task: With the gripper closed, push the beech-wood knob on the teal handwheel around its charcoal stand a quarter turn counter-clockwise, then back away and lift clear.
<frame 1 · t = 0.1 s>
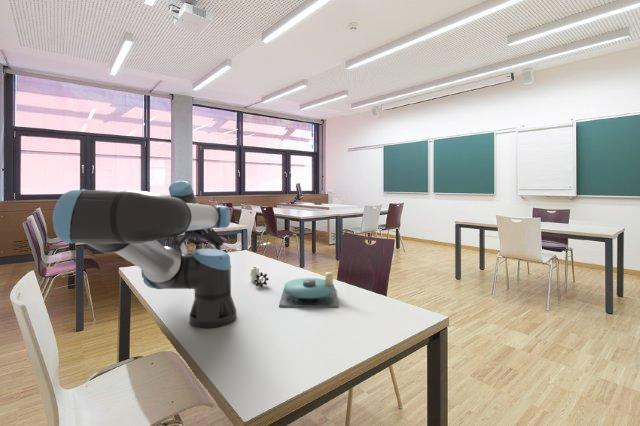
hand: (202, 255, 140), 15 cm above the table, tool tilted 35°, fingers open, 13 cm apart
handwheel: (309, 281, 135), point 6 cm above the table, hinge at 0.0°
wheel stand: (309, 297, 135), on the table
valve: (257, 284, 153), on the table
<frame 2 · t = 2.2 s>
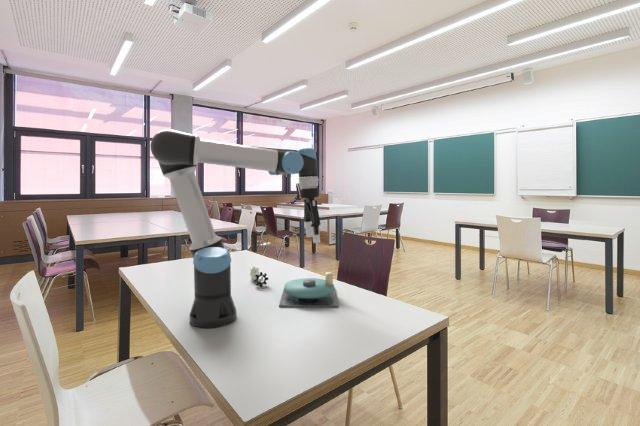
hand: (313, 239, 136), 23 cm above the table, tool pointing down, fingers open, 13 cm apart
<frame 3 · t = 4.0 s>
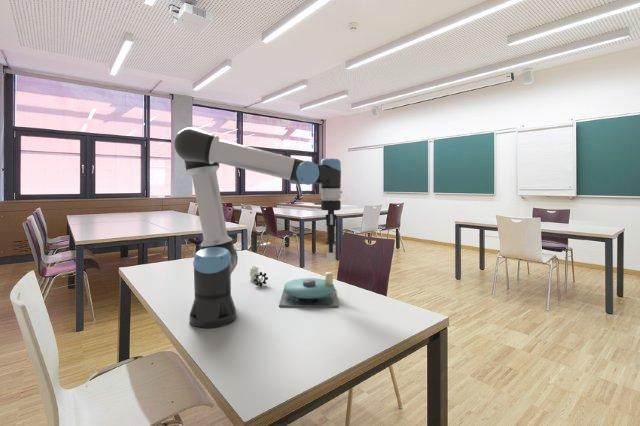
hand: (330, 260, 129), 16 cm above the table, tool pointing down, fingers closed
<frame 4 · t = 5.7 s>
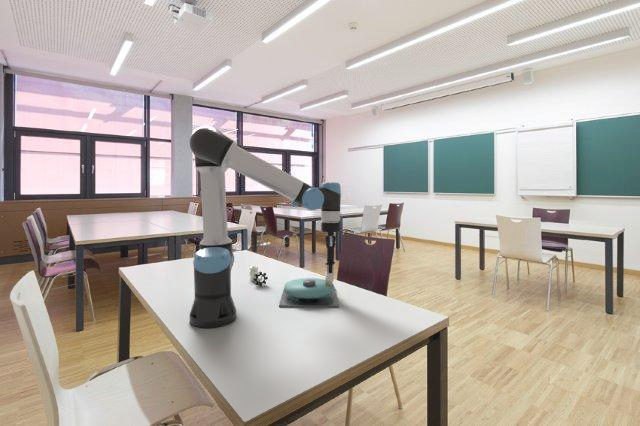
hand: (330, 280, 133), 8 cm above the table, tool pointing down, fingers closed
handwheel: (309, 281, 135), point 6 cm above the table, hinge at 3.4°, touching gripper
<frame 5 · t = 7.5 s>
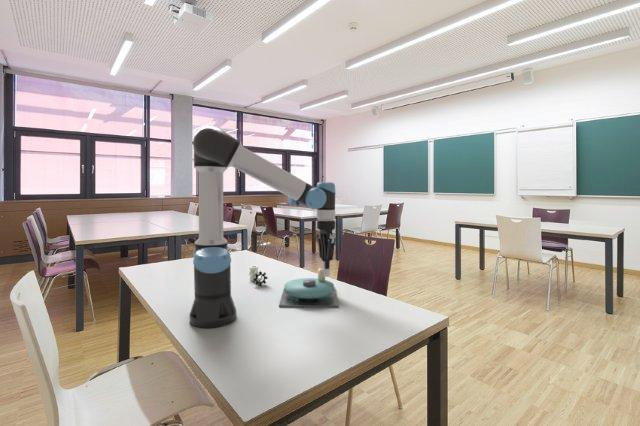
hand: (325, 276, 139), 8 cm above the table, tool pointing down, fingers closed
handwheel: (309, 281, 135), point 6 cm above the table, hinge at 50.4°, touching gripper
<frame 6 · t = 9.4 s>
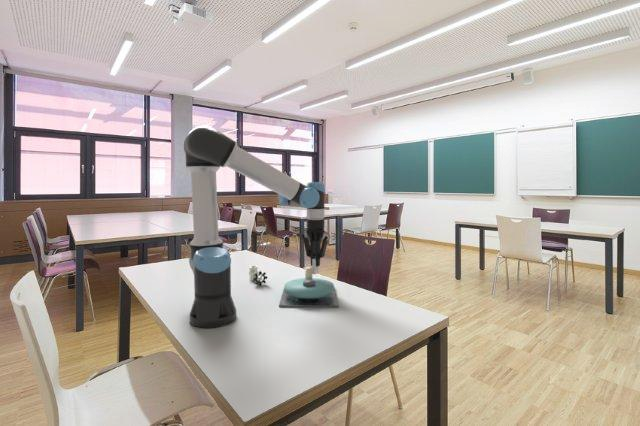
hand: (315, 273, 143), 8 cm above the table, tool pointing down, fingers closed
handwheel: (309, 281, 135), point 6 cm above the table, hinge at 92.3°
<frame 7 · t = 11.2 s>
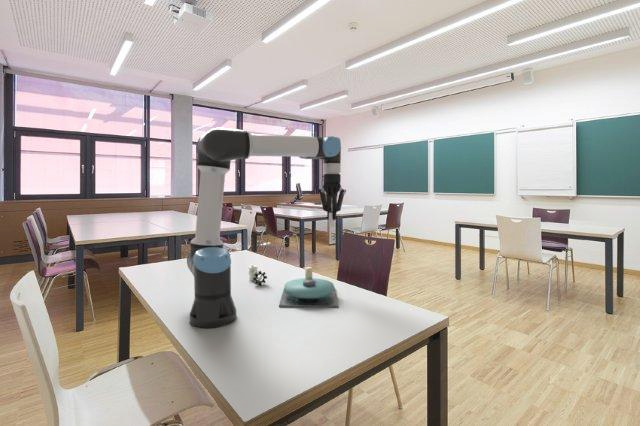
hand: (331, 227, 148), 27 cm above the table, tool pointing down, fingers closed
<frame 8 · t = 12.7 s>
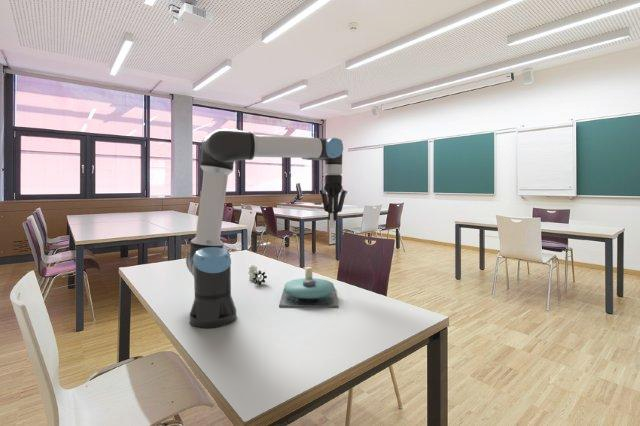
hand: (332, 227, 149), 26 cm above the table, tool pointing down, fingers closed
at the end: handwheel at +92° (first picture: +0°); valve moved 3.4 cm from its start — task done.
